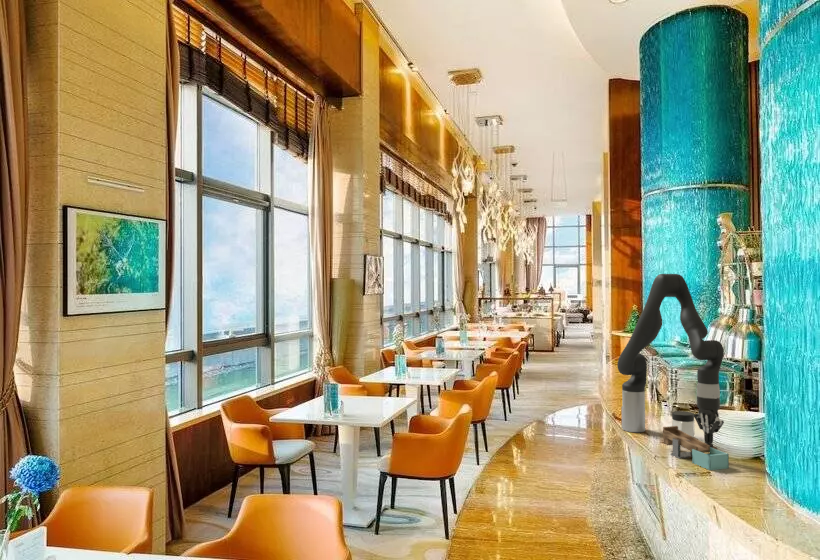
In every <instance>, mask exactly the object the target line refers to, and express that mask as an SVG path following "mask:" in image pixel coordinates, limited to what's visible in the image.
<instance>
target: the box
mask: <svg viewBox="0 0 820 560" xmlns="http://www.w3.org/2000/svg"><path fill="white" fill-rule="evenodd" d="M729 455H730V454H729V453H727V452H724V451H721V450H719V449H717V450H716V449H714V448H711V447H710V452H707V453H702V452H699V451H697V450H694V449H692V458H691V459H692V460H691V463H692V464H693V463H694V464H693V465H696V464H697V465H696V466H698V465H699V467H700V466H701V467H700V468H704V469H705V468H706V470H708V471H715V470H717V471H718V470H726V469H729V468H730V467H729V466H730V465H729V463H730V462H729V460H730V459H729Z"/></svg>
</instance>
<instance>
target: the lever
mask: <svg viewBox="0 0 820 560" xmlns="http://www.w3.org/2000/svg"><path fill="white" fill-rule="evenodd" d="M662 436H663V441H662V442H663V444H664V445H666V446H673V438H675V439H678V440H680V447H682V448H685V449H686V450H688V451H689V452H690V451H691V452H692V449H694V450H697V451H699V452H702V453H705V454H707V453H710V447H711V448H714V449H716V450H718V447H717V446H715V445H714V444H713V443H710V444H708V443H705V441H702V440H700V439H699V438H698V439H696V438H697V437H695V438H694V437H692V436H690V435H688V434H686V433H684V432H683V431H681V430H679V429H678V426H672V425H671V426H663V427H662Z"/></svg>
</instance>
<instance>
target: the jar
mask: <svg viewBox="0 0 820 560" xmlns="http://www.w3.org/2000/svg"><path fill="white" fill-rule="evenodd" d="M694 414H695V413H693V412H691V411H686V410H684V411H683V410H675V411H672V412H671V426H678V429H679V430H681V431H683V432H684V433H686V434H688V435H690V436H692V437H694V435H696V431H695V428H696V427H695V426H696V425H695V417H694Z"/></svg>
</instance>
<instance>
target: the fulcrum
mask: <svg viewBox="0 0 820 560" xmlns="http://www.w3.org/2000/svg"><path fill="white" fill-rule="evenodd" d="M694 438H696V439H698V440H699V438H698V437H694ZM670 456H672V457H674V456H675V458H677V459H679V460H682V459H690V458H689V457H692V452H691V451H690V450H689V451H683V452H681V445H680V440H678V439H675V438H673V445H672V453H670ZM681 458H682V459H681Z"/></svg>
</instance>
